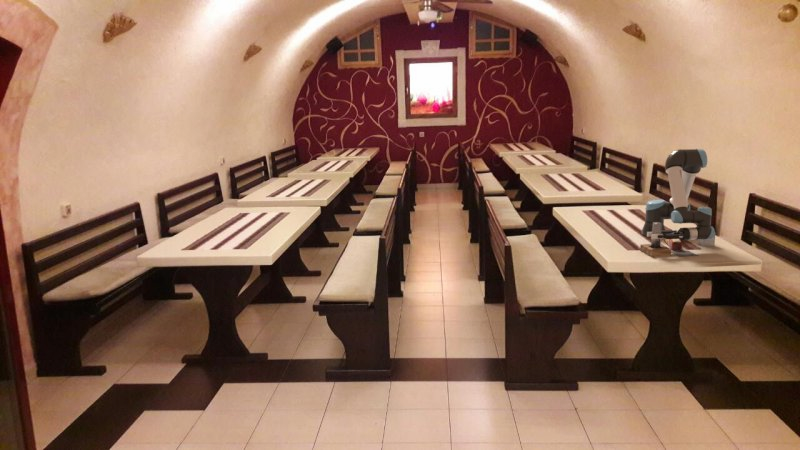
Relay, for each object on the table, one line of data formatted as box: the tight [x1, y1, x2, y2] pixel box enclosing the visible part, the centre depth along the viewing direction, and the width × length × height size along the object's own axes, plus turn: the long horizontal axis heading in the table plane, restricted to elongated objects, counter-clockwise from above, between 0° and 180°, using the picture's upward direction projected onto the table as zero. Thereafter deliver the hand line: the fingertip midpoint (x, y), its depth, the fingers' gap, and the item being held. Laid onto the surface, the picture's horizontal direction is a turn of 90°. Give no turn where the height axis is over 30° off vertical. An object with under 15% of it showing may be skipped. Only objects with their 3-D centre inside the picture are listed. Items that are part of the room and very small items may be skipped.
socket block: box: [639, 243, 672, 258], centre depth 347 cm, size 14×12×4 cm
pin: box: [650, 222, 662, 248], centre depth 345 cm, size 5×5×16 cm
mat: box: [671, 250, 699, 258], centre depth 344 cm, size 12×12×1 cm
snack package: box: [664, 239, 683, 251], centre depth 361 cm, size 21×7×7 cm, turn 166°
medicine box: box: [698, 232, 717, 247], centre depth 361 cm, size 8×4×9 cm, turn 92°
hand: (649, 235), depth 345 cm, fingers closed on pin, 5 cm apart
